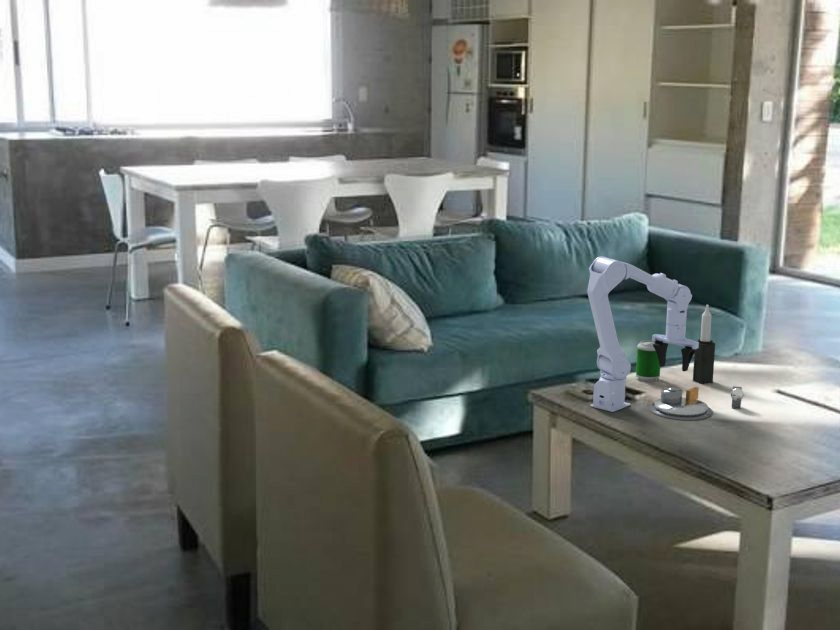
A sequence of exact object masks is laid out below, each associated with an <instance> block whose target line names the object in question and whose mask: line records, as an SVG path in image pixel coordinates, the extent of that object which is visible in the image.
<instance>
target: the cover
mask: <svg viewBox="0 0 840 630" xmlns="http://www.w3.org/2000/svg"><path fill="white" fill-rule="evenodd" d="M682 397H683V390H682V389H680V388H677V387H663V388H661V390H660V399H661V402H662V403H664V404H668V405H679V404H681V403H682Z"/></svg>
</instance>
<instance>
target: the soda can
mask: <svg viewBox="0 0 840 630" xmlns="http://www.w3.org/2000/svg"><path fill="white" fill-rule="evenodd" d="M654 343H655V342H654V341H652V340H642V341H640V342H639V343H638V344H637V346H636V366H635V367H636V368H635V377H636V378H638V380H640V381H641V382H647V383H648V382H649V383H650V382H657V380H659V378H661V377H660V376H661V367H660V365H659V360H658V356H657V353H656V351H655V349H654V347H653V344H654Z"/></svg>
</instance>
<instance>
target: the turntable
mask: <svg viewBox="0 0 840 630" xmlns="http://www.w3.org/2000/svg"><path fill="white" fill-rule="evenodd" d="M699 389H700V387H698V386H692V387H691V388H688V389H686V390H685V397H683V396H682V403H681V404H679V405H668V404H664V403H662V402H661V398H659V399H656V400H655V401H654V403H655V409H656V410H657V411H659V412H661V413H664V414H668V415H673V416H683V417H692V416H700V415H703V414H706V413H707V412H708V407H709V406H708V404H707V403H706V402H704V401H701V400H699Z"/></svg>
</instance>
